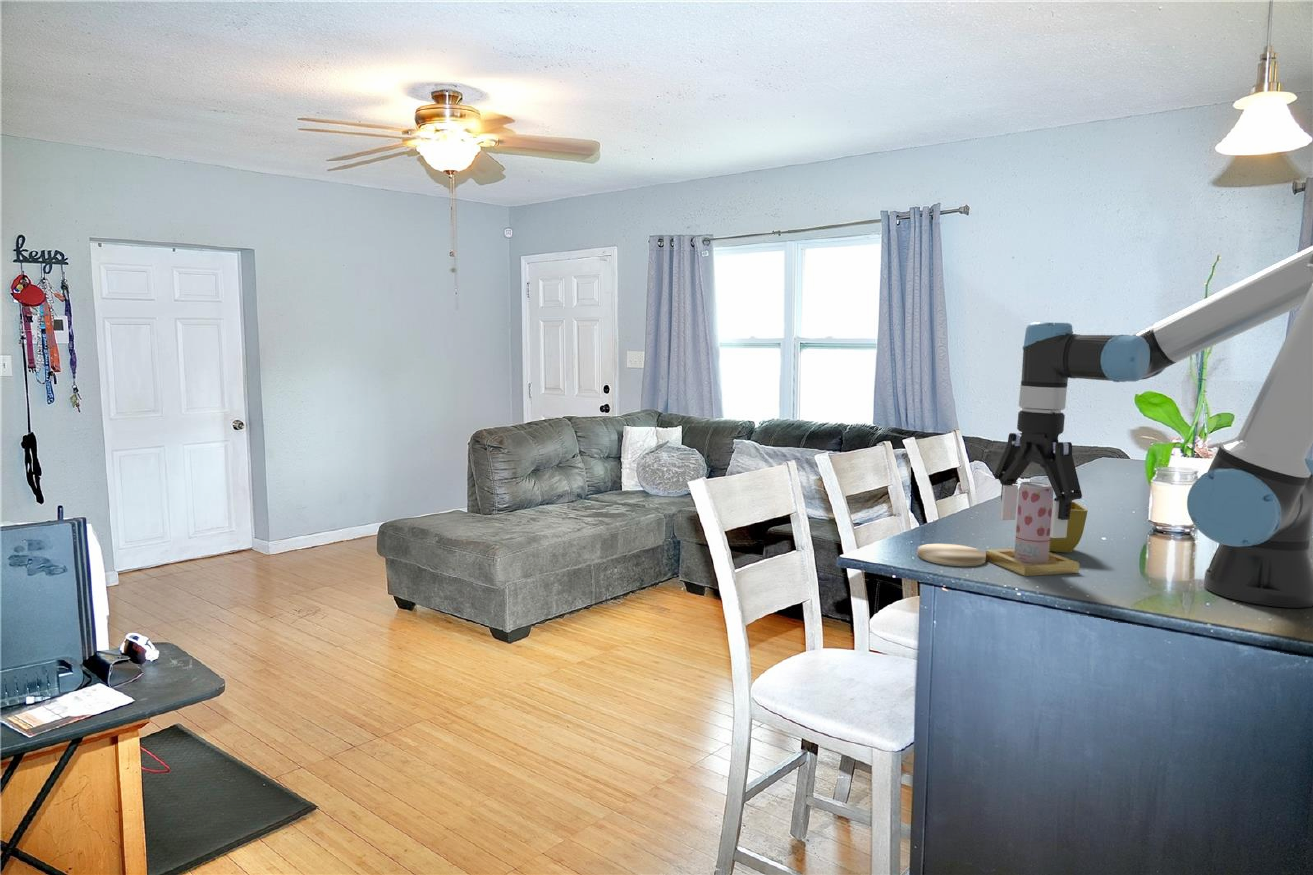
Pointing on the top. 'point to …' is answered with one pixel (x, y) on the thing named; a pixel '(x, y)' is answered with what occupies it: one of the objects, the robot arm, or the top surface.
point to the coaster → (951, 554)
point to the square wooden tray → (1030, 569)
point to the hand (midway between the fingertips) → (1031, 528)
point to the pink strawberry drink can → (1033, 522)
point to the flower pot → (1071, 530)
